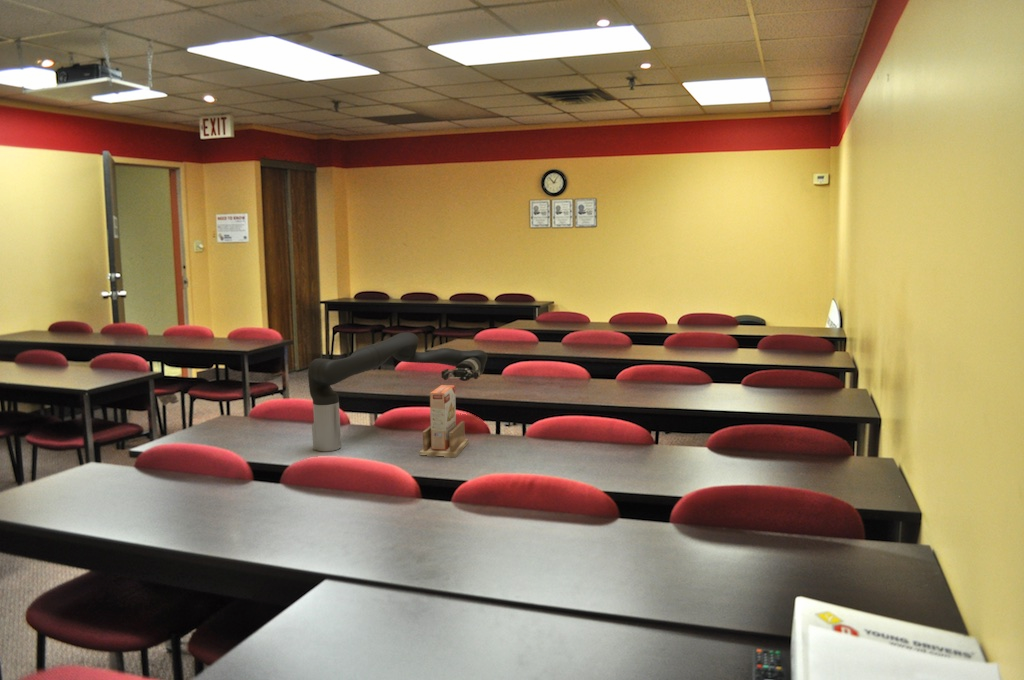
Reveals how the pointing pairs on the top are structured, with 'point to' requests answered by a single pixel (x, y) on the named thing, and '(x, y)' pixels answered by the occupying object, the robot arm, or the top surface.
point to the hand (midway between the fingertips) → (455, 377)
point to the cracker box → (442, 416)
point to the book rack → (455, 440)
